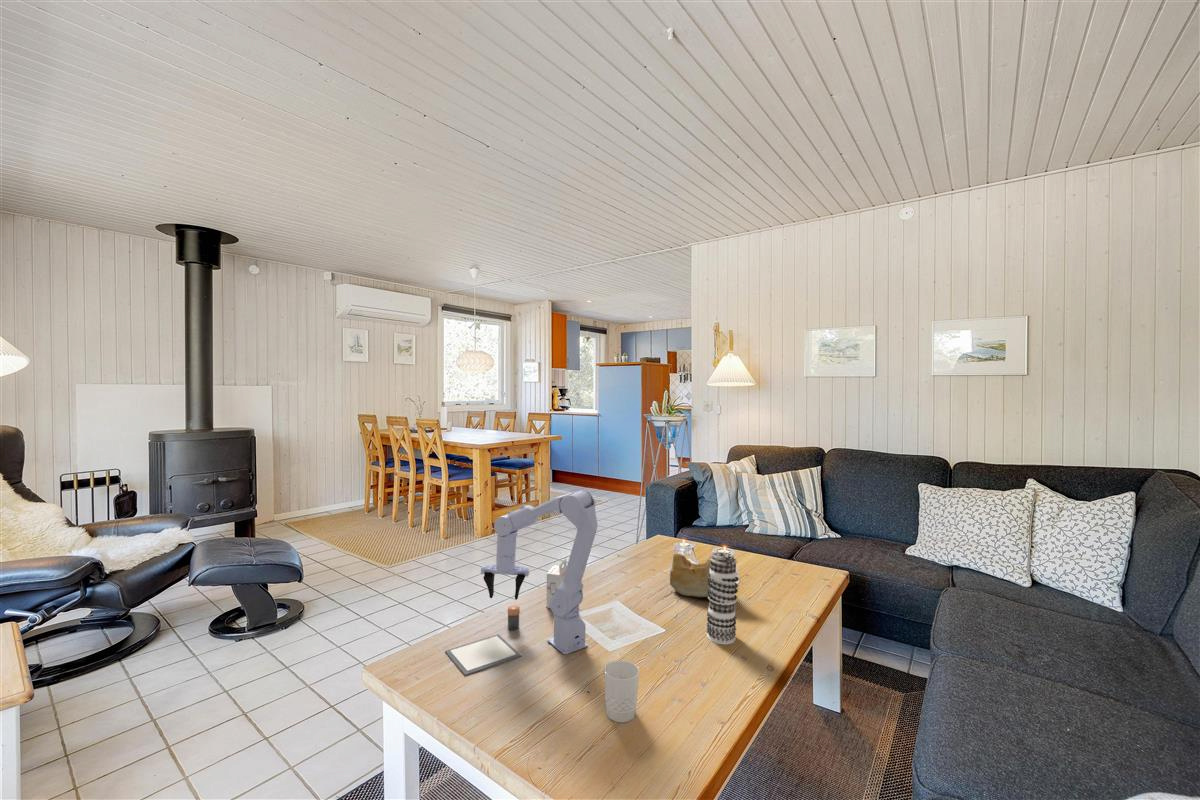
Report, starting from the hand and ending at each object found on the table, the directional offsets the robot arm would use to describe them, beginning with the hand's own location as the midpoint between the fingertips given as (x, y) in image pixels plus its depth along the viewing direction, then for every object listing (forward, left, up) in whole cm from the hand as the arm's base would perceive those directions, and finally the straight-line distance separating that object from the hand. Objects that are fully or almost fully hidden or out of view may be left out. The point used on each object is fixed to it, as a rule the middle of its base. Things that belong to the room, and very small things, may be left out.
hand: (504, 597), depth 151 cm
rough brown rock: (-19, -71, -9) cm, 74 cm away
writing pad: (-11, +12, -9) cm, 18 cm away
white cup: (-52, -3, -9) cm, 53 cm away
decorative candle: (-43, -50, -9) cm, 67 cm away
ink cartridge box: (+5, -22, -9) cm, 25 cm away
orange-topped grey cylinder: (-2, -2, -9) cm, 10 cm away
